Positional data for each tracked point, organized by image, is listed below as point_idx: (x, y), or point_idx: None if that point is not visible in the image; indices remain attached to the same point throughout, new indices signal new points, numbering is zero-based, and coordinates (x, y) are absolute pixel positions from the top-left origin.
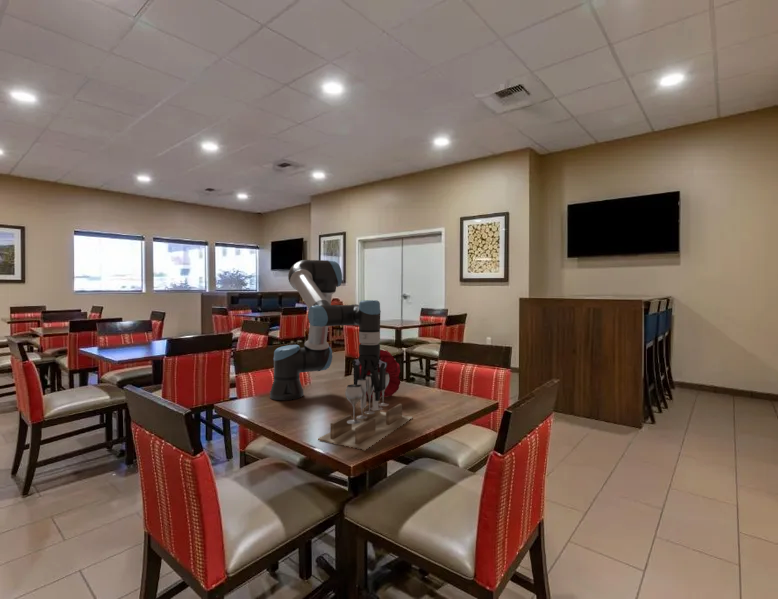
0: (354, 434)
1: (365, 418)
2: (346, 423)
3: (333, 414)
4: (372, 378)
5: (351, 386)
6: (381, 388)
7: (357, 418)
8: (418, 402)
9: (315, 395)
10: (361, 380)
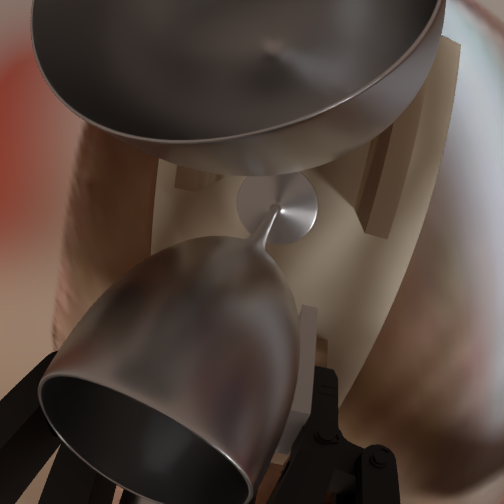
0: None
1: (316, 345)
2: (375, 162)
3: (466, 385)
4: (90, 493)
5: (382, 106)
6: (47, 364)
7: (362, 359)
8: None
9: (498, 477)
10: (71, 371)
